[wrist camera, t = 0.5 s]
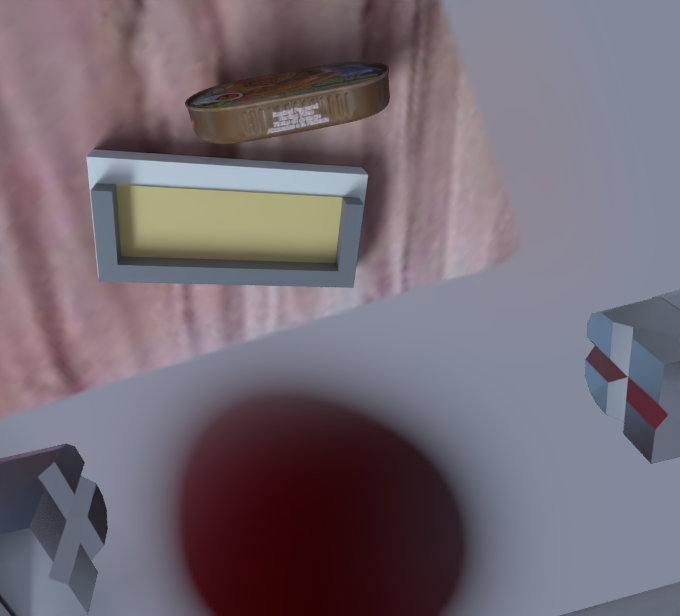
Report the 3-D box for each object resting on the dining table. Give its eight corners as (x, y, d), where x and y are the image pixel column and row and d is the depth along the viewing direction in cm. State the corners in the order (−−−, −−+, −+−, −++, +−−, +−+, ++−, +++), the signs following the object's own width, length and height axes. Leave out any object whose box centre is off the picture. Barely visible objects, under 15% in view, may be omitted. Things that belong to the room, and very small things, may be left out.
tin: (374, 56, 46) (401, 66, 38) (378, 97, 47) (405, 114, 40) (187, 89, 44) (179, 106, 37) (198, 129, 46) (192, 154, 39)
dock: (93, 149, 45) (80, 163, 41) (362, 167, 50) (373, 181, 46) (103, 264, 50) (93, 287, 46) (349, 271, 54) (358, 292, 50)
